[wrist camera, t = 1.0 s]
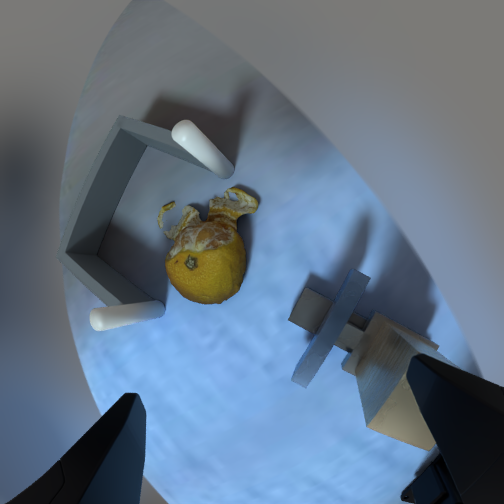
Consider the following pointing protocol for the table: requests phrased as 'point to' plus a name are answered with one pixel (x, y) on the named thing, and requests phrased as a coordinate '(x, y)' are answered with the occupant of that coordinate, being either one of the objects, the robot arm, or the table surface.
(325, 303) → the rail
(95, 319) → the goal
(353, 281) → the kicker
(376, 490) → the table surface
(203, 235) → the fruit
